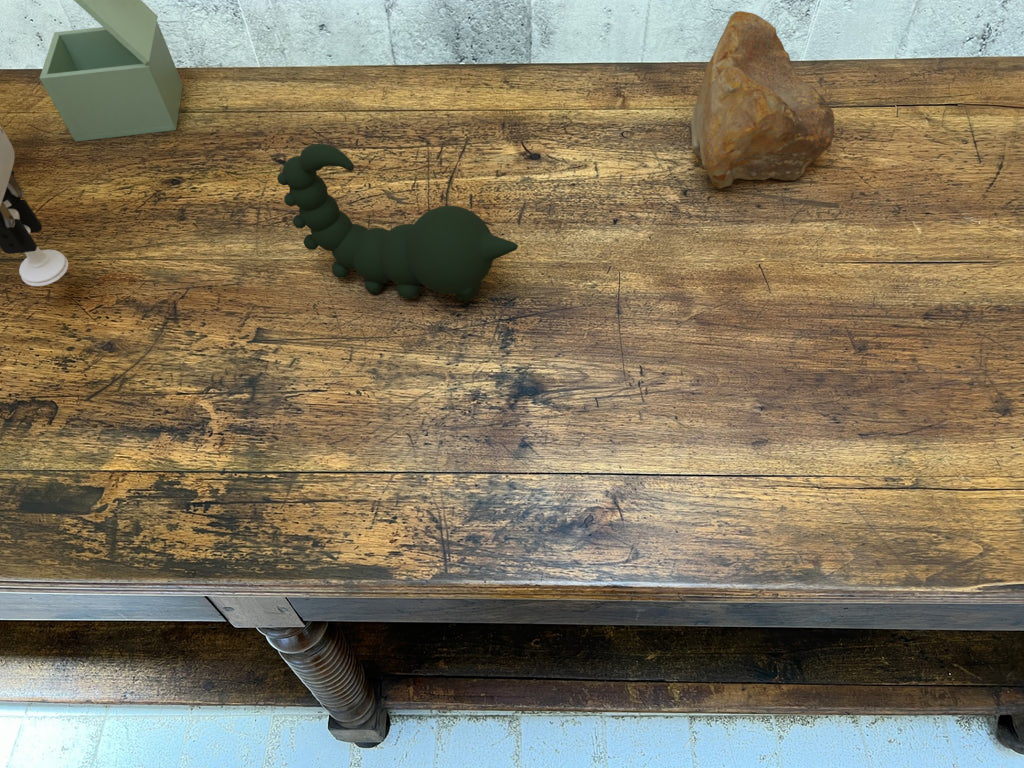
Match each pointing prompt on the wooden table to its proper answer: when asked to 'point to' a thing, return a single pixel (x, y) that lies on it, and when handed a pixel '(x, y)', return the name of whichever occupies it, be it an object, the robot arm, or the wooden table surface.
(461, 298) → the toy figurine
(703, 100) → the rough brown rock
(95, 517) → the wooden table surface
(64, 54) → the bin
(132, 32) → the bin lid
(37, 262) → the chess piece
